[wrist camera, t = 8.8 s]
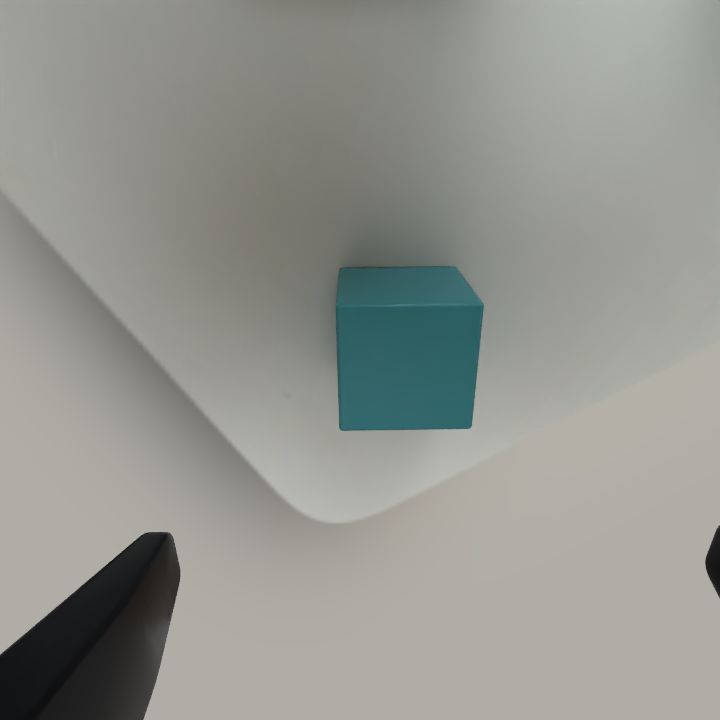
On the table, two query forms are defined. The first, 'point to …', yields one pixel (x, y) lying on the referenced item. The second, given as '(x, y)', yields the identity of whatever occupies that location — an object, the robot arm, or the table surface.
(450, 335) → the teal block
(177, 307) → the table surface
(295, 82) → the table surface
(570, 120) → the table surface
